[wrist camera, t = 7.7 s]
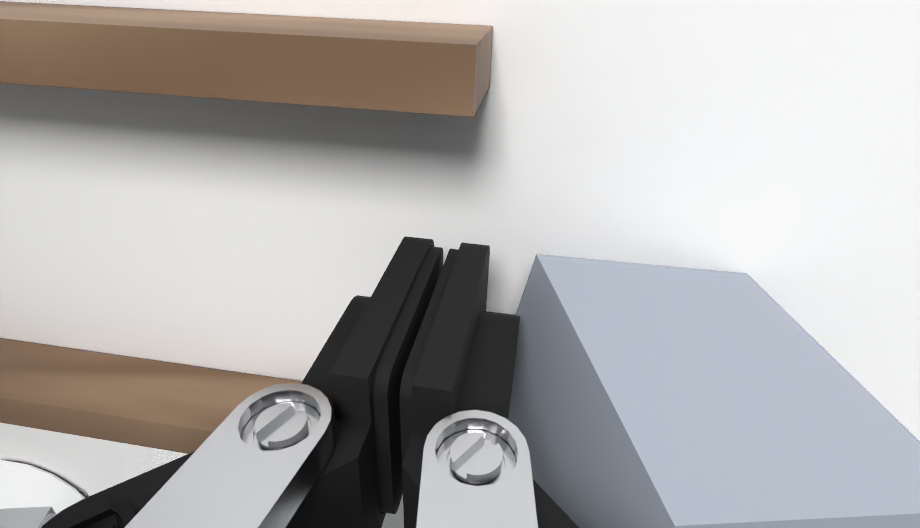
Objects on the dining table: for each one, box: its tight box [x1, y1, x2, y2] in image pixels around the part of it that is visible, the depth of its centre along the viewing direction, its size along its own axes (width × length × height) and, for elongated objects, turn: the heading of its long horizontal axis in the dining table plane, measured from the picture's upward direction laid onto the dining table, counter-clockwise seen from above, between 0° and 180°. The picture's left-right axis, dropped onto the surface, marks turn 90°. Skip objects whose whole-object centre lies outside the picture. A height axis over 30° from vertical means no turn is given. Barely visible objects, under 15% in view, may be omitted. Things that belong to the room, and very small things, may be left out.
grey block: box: [508, 254, 920, 528], centre depth 9 cm, size 4×4×5 cm
